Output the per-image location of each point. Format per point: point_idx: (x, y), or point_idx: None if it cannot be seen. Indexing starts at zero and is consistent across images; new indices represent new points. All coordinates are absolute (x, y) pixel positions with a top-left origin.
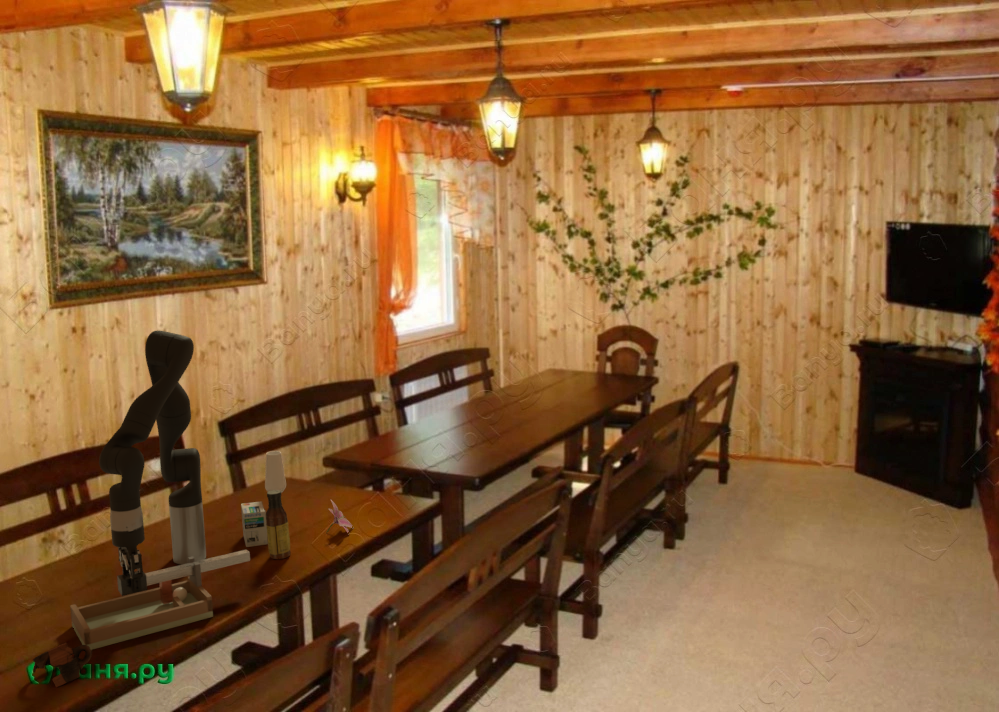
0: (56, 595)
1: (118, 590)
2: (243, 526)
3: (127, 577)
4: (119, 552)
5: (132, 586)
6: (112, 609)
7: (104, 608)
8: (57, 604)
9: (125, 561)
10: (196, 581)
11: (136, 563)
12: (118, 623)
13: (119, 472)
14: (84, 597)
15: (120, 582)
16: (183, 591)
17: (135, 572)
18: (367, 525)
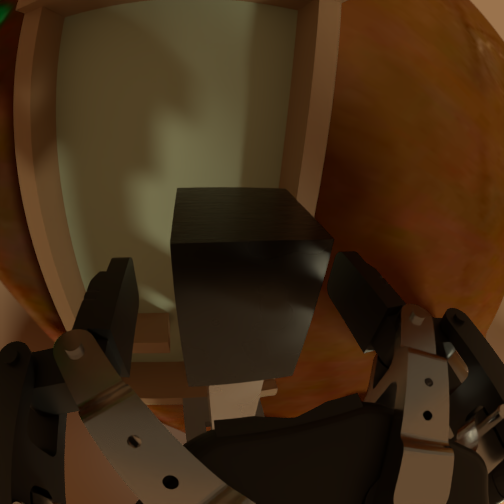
0: (488, 101)
1: (282, 189)
2: None
3: (219, 303)
4: (448, 459)
5: (103, 285)
6: (289, 136)
7: (298, 106)
8: (459, 72)
9: (147, 499)
10: (187, 412)
11: (36, 486)
12: (20, 124)
13: None
14: (454, 135)
15: (199, 229)
16: None
17: (282, 351)
18: None
